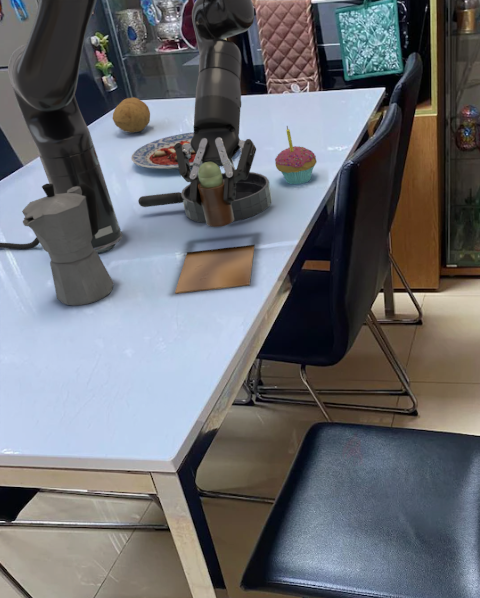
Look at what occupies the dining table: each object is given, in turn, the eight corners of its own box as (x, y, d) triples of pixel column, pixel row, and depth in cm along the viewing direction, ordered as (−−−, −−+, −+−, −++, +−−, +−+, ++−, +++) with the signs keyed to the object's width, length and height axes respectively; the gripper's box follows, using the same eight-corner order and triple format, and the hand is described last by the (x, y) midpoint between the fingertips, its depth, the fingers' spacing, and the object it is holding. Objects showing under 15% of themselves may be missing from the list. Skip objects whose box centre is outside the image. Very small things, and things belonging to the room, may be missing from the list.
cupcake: (313, 190, 144) (305, 128, 136) (273, 191, 145) (263, 130, 138) (322, 175, 150) (315, 115, 142) (284, 176, 152) (275, 117, 144)
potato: (154, 121, 197) (147, 90, 192) (153, 135, 187) (144, 103, 182) (119, 126, 197) (110, 96, 192) (116, 141, 186) (106, 108, 181)
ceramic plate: (168, 185, 155) (164, 171, 153) (115, 163, 171) (111, 150, 169) (262, 151, 167) (260, 138, 165) (205, 134, 183) (202, 122, 181)
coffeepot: (84, 315, 110) (41, 202, 99) (37, 309, 114) (-9, 199, 102) (140, 271, 121) (108, 164, 110) (96, 266, 124) (60, 162, 113)
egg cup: (201, 226, 120) (187, 167, 114) (215, 215, 124) (202, 156, 118) (226, 227, 119) (212, 167, 113) (239, 216, 122) (227, 157, 116)
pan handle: (139, 209, 138) (136, 199, 136) (141, 205, 139) (138, 195, 138) (184, 203, 137) (182, 193, 136) (186, 200, 139) (183, 190, 138)
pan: (181, 231, 133) (175, 208, 130) (192, 198, 146) (187, 177, 144) (270, 221, 133) (266, 198, 130) (273, 189, 146) (270, 167, 143)
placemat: (175, 293, 113) (175, 292, 113) (190, 242, 129) (190, 240, 129) (249, 285, 113) (249, 283, 113) (256, 234, 129) (255, 233, 128)
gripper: (168, 96, 117) (162, 195, 115) (251, 90, 114) (246, 192, 112) (186, 120, 124) (181, 214, 122) (265, 115, 121) (260, 211, 120)
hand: (212, 203), depth 117 cm, fingers closed on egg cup, 4 cm apart
